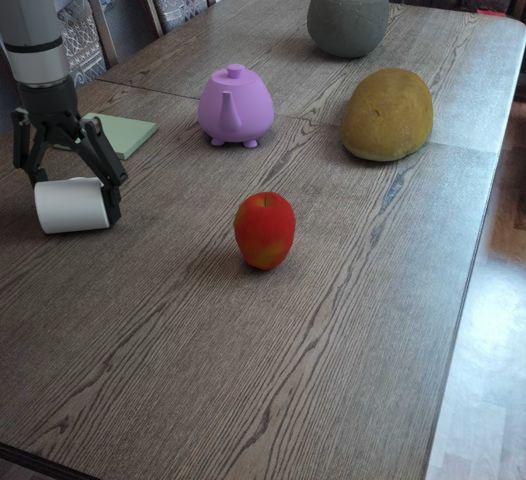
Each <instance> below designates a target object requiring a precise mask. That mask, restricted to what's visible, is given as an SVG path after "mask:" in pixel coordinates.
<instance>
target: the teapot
mask: <svg viewBox="0 0 526 480" xmlns="http://www.w3.org/2000/svg"><path fill="white" fill-rule="evenodd" d="M273 104H274V103H273V99H272V97H271V95H270V93H269V90H268V89H267V87H266V85H265V83H264V82H263V80H262V78H261V77H260V76H259V74H258V73H257V72H255V71H254V70H251V69H249V68H247V67H246V65H243V64H240V63H230V64H227V65H226V68H223V69H218V70H216V71H215V72H213V73H212V74H211V76H210V77H209V79H207V82H206V83H205V86H204V88H203V90H202V92H201V94H200V98H199V101H198V106H197V122H198V124H199V127H200V128H201V129H202V130H203V131H204V132H205V133H206V134H207V135H208V136H210V137H211V138H212V139H211V141H210V143H211V145H213V146H221V145H224V144H225V143H226V142H229V143H242V142H243V143H242V144H243V146H244V147H246V148H255V147H257V146H258V142H257V140H256V139H260V138H261V137H263V136H264V135H265V134H266V133H267V132H268V130H269V129H271V127H272V125H273V123H274V122H275V108H274V105H273Z"/></svg>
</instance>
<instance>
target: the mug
mask: <svg viewBox="0 0 526 480" xmlns="http://www.w3.org/2000/svg"><path fill="white" fill-rule="evenodd" d="M102 186H104V185H103V183H102V182H101V181H100V180H99V179H98V177H97V176H95V177H80V176H79V177H72V178H68V179H60V180H49V181H48V182H37V183H36V185H35V191H34V190H33V191H34V203H35V209H36V213H37V218H38V220H39V224H40V226H41V228H42V230H43V232H44V233H45V234H48V235H49V234H58V233H59V234H61V233H69V232H79V231H89V230H98V229H99V230H100V229H108V228H110V226H111V225H109V221H108V217H107V213H106V208H105V204H104V200H103V196H102V192H101V187H102Z"/></svg>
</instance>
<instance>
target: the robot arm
mask: <svg viewBox="0 0 526 480" xmlns="http://www.w3.org/2000/svg"><path fill="white" fill-rule="evenodd" d="M61 30H62V29H61V26H60V21H59V16H58V12H57V8H56V3H55V0H0V37H1V39H2V43H3V47H4V49H5V52H6V56H7V59H8V62H9V66H10V69H11V73H12V76H13V78H14V80H15V81H17V84H16V87H17V91H18V93H19V97H20V100H21V104H22V105H20V106H18V107H17V108H16V109H14V110H12V111H11V112H10V114H9V115H10V116H9V117H10V120H11V122H12V125H13V143H12V144H13V145H12V166H13V167H14V168H15V169H17V170H20V169H21V170H23V171H24V173H25V174H27V176H28V179H29V181H30V185H31V188H32V190H33V191H35V185H36V183H37V182H48V181H50V180H49V177H48V174H47V171H46V168H43V167H41V166H43V164H42V161H43V159H44V157H45V154H46V151H47V149H48V147H49V145H52V146H54V145H55V144H59V145H61V146H65V147H69V148H70V149H71V150H70V151H71V152H72V153H74V154H77V155H78V156H79V158H80V159H81V160H82V162H84V164H85V165H86V166H87V167H88V168H89V169H90V170H91V172H92V174H93V175H95V177H98V179H99V180H100V181H101V182H102V183H103V185H104V186H102V187H101V192H102V196H103V200H104V204H105V208H106V213H107V217H108V221H109V225H110V226H115V224H116V223H117V222H118V221H119V220H120V219H121V218H122V213H121V208H120V207H121V206H120V203H121V202H122V194H121V191H120V187H121V186H122V185H123V184H125V182H126V181H127V180H128V179H129V174H128V172H127V171H126V169H125V167H124V165H123V164H122V162H121V159H119V158H118V156H117V155H116V153H115V151H114V149H113V147H112V146H111V144H110V142H109V140H108V139H107V137H106V135H105V133H104V131H103V127H102V123H101V120H100V118H99V117H97V116H95V117H93V118H92V119H85V118H83V117H82V115H81V114H80V112H79V109H78V108H79V107H78V106H79V105H78V103H79V102H78V100H79V98H78V95H77V91H76V86H75V83H74V78H73V76H72V75H70V73H71V66H70V63H69V59H68V55H67V51H66V46H65V43H64V39H63V35H62V31H61ZM31 125H32V126H33V127H34V128H35V129H36V131H35V135H34V137H33V140H32V142H33V143H32V146H31ZM82 129H84V131H85V132H84V131H83V130H82ZM77 138H79V139H80V142H79V143H76V142H75V141H76V140H77ZM30 146H31V148H30Z"/></svg>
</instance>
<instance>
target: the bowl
mask: <svg viewBox="0 0 526 480" xmlns="http://www.w3.org/2000/svg"><path fill="white" fill-rule="evenodd" d="M389 18H390V0H309V4H308V9H307V14H306V29H307V32H308V35H309V37H310V38H311V40H312V42H313V43H314V44H315V45H316V46H317V47H318V48H319V49H321V50H322V51H324V52H325V53H328V54H330V55H332V56H335V57H340V58H347V59H352V58H355V59H356V58H360V57H364V56H366V55H368V54H369V53H372V52H373V51H374V50H376V48H378V46H379V45H380V44H381V43H382V41H383V39H384V37H385V35H386V33H387V30H388V25H389V20H390V19H389Z"/></svg>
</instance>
